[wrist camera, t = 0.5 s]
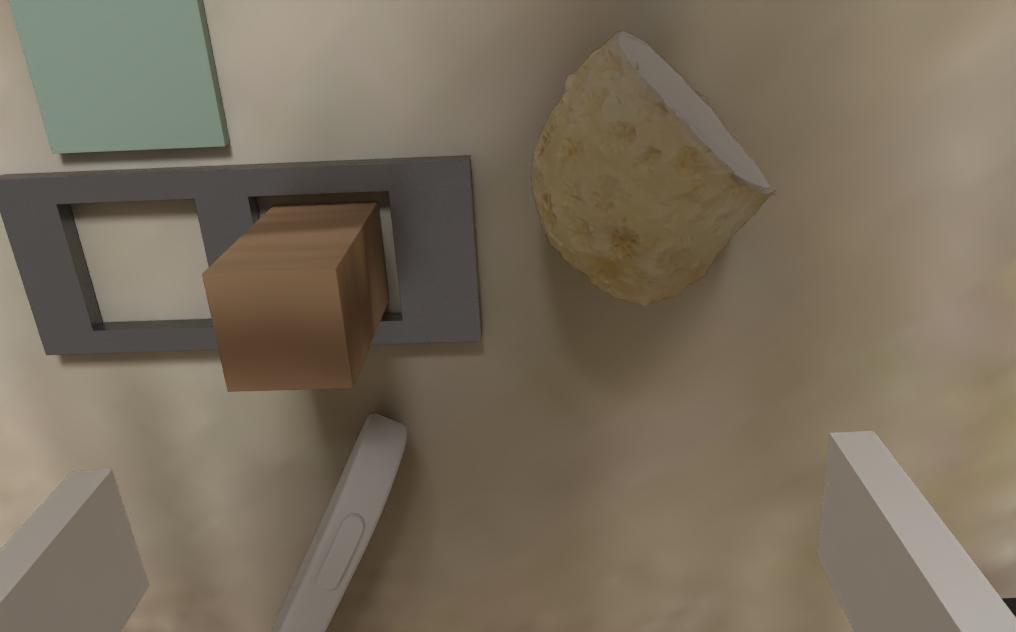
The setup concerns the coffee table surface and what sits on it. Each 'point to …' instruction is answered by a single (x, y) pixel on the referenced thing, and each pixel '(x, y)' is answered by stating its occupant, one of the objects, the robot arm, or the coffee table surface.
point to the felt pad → (122, 74)
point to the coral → (640, 175)
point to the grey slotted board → (224, 219)
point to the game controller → (345, 527)
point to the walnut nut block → (299, 297)
